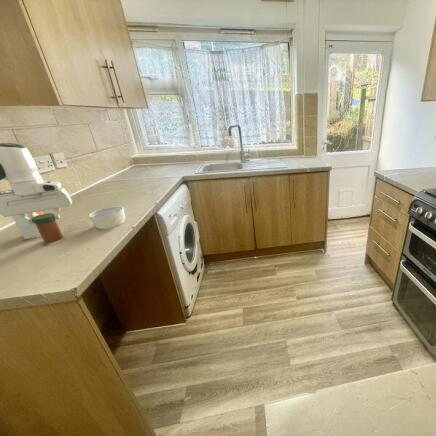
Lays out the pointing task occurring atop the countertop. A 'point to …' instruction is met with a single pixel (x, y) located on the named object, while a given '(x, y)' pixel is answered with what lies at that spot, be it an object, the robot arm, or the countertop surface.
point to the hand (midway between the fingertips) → (45, 220)
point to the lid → (43, 218)
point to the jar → (49, 231)
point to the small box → (27, 225)
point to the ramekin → (108, 217)
